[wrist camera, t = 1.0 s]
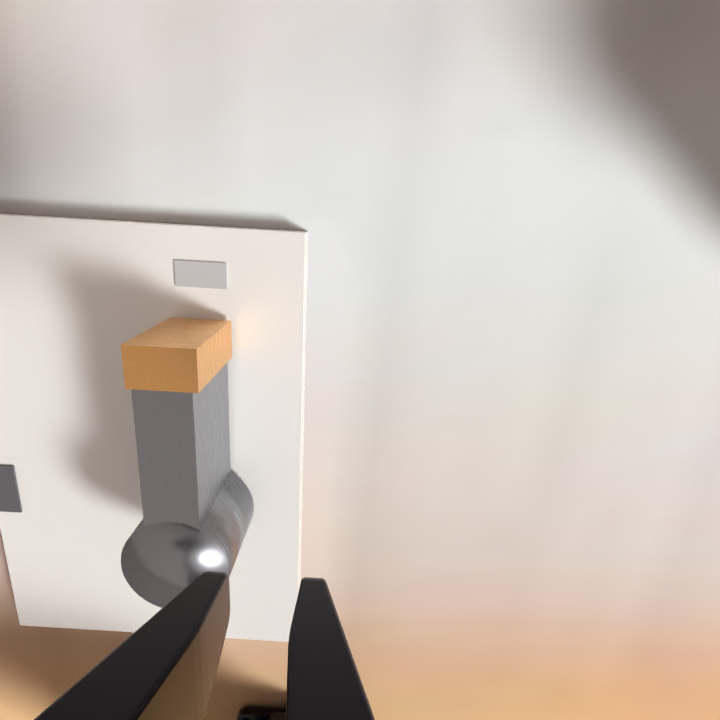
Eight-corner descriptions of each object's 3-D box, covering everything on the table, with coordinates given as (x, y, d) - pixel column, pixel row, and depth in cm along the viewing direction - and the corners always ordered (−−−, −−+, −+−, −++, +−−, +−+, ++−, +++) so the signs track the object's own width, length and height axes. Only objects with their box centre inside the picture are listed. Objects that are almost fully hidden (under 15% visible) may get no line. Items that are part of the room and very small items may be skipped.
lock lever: (254, 544, 22) (230, 614, 18) (167, 539, 22) (125, 607, 18) (251, 321, 19) (221, 350, 15) (150, 315, 19) (95, 343, 15)
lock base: (299, 626, 25) (296, 644, 24) (32, 609, 25) (18, 627, 24) (308, 231, 19) (304, 232, 18) (-42, 211, 19) (-66, 211, 18)
